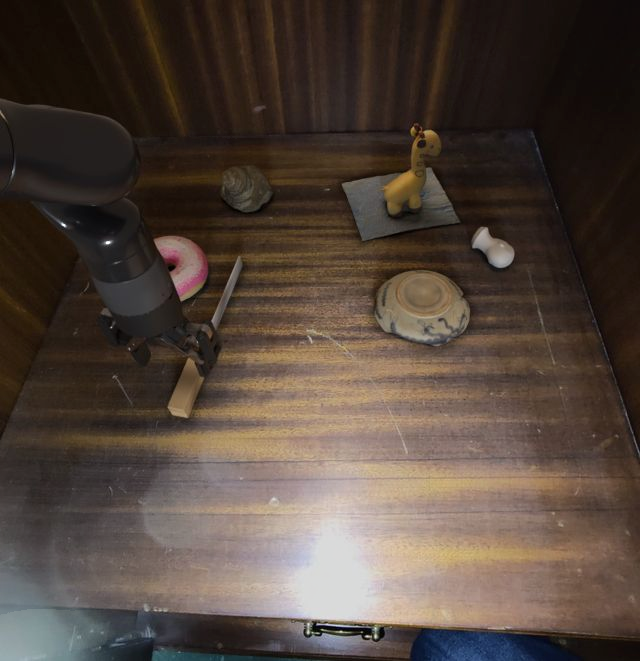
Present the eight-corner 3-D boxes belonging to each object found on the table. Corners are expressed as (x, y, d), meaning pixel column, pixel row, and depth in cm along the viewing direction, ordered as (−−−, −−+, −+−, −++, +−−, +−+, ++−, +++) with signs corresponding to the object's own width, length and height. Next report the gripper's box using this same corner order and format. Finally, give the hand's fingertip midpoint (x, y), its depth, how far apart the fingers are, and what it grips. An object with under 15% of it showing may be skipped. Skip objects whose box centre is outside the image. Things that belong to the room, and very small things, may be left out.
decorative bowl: (356, 294, 84) (407, 362, 76) (356, 279, 81) (409, 348, 73) (433, 261, 88) (489, 323, 80) (436, 245, 85) (495, 308, 77)
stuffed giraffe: (460, 223, 92) (474, 143, 79) (362, 243, 91) (361, 166, 78) (430, 170, 102) (439, 92, 89) (342, 188, 101) (337, 111, 88)
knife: (188, 418, 72) (183, 409, 70) (172, 415, 73) (167, 406, 71) (248, 266, 88) (246, 255, 86) (235, 264, 89) (232, 254, 87)
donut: (163, 325, 82) (153, 305, 78) (115, 283, 87) (104, 262, 83) (227, 276, 87) (221, 256, 83) (178, 240, 93) (170, 219, 89)
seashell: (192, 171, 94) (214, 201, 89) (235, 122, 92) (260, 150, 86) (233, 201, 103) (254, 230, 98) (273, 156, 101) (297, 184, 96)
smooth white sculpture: (513, 271, 87) (492, 275, 84) (484, 240, 91) (463, 244, 89) (527, 251, 84) (505, 255, 81) (496, 221, 88) (474, 224, 85)
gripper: (60, 303, 55) (114, 381, 68) (186, 323, 53) (217, 400, 66) (93, 253, 59) (138, 335, 72) (210, 270, 57) (235, 351, 70)
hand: (176, 366), depth 69 cm, fingers open, 8 cm apart
